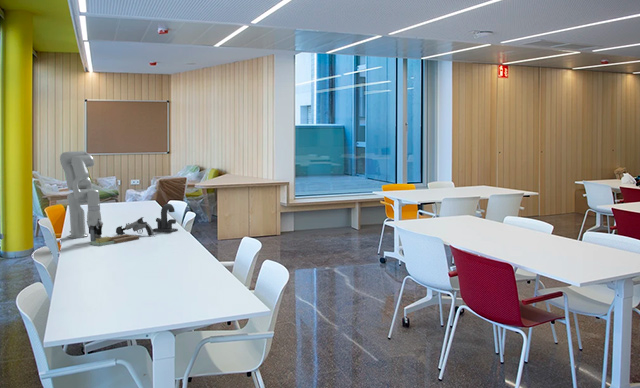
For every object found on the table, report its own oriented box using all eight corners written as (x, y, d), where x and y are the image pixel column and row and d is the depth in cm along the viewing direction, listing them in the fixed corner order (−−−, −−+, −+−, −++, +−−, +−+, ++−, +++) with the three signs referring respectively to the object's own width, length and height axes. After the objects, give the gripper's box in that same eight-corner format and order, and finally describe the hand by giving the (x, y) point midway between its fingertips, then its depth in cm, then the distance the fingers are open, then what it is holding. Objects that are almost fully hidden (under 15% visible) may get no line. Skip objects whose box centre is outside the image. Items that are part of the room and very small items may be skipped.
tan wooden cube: (96, 244, 363) (95, 238, 362) (101, 243, 366) (101, 237, 366) (99, 245, 361) (99, 238, 360) (105, 244, 364) (104, 237, 363)
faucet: (184, 229, 419) (183, 202, 417) (171, 232, 404) (170, 205, 402) (164, 228, 426) (163, 202, 423) (151, 231, 411) (149, 204, 409)
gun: (151, 235, 391) (143, 215, 391) (121, 248, 398) (113, 229, 398) (155, 233, 396) (147, 214, 396) (125, 246, 403) (117, 227, 403)
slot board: (103, 241, 373) (103, 238, 373) (126, 237, 387) (126, 234, 387) (115, 244, 365) (115, 240, 364) (139, 239, 379) (139, 236, 379)
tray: (90, 244, 363) (89, 241, 363) (104, 242, 372) (104, 239, 372) (100, 246, 357) (99, 243, 357) (114, 243, 366) (114, 240, 365)
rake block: (90, 242, 372) (89, 225, 371) (97, 241, 376) (96, 224, 375) (94, 242, 370) (93, 226, 368) (101, 241, 374) (100, 225, 373)
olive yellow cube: (101, 243, 366) (101, 237, 366) (106, 242, 369) (106, 236, 369) (105, 244, 364) (104, 237, 363) (110, 242, 367) (110, 236, 367)
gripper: (81, 208, 372) (82, 233, 374) (96, 210, 362) (97, 236, 364) (91, 206, 378) (93, 232, 380) (106, 208, 368) (108, 234, 370)
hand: (95, 234), depth 372 cm, fingers open, 8 cm apart
